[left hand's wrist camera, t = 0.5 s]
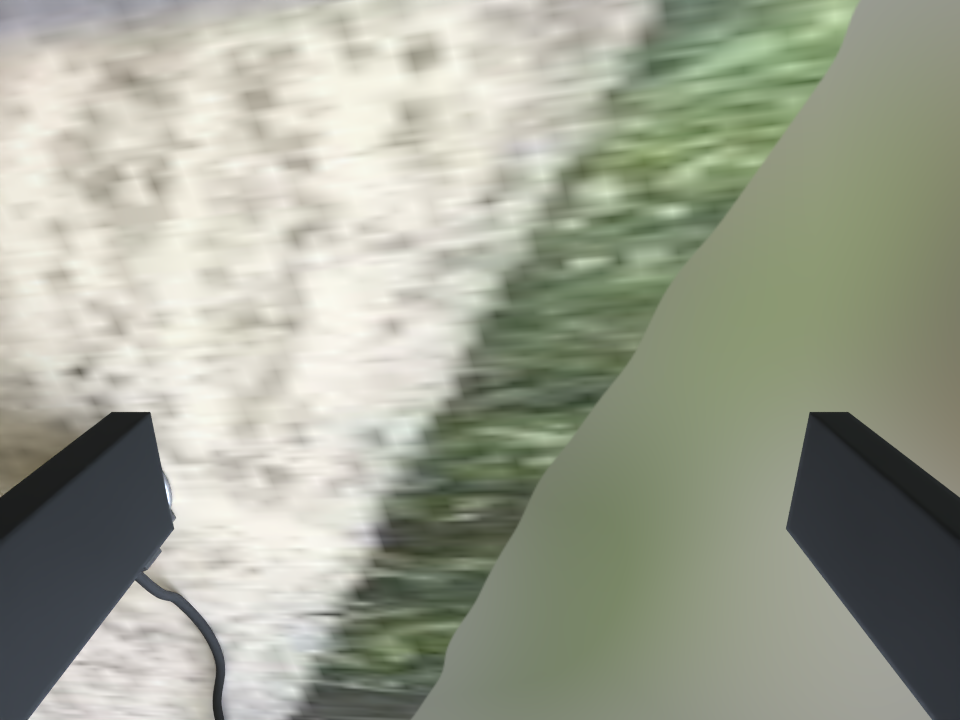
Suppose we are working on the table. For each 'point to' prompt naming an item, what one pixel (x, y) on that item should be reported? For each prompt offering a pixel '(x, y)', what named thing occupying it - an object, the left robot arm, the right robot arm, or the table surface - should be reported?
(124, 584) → the left robot arm
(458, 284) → the table surface
